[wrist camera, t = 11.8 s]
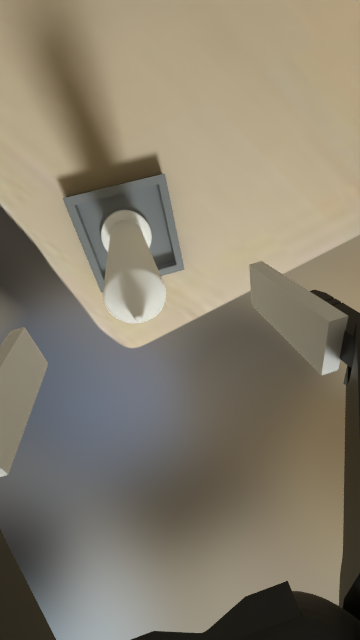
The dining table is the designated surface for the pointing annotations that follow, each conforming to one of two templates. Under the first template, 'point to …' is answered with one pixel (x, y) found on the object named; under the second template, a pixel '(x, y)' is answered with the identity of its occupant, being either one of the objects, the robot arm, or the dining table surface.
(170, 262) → the tray
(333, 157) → the dining table surface
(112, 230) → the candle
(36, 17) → the dining table surface
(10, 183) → the dining table surface
